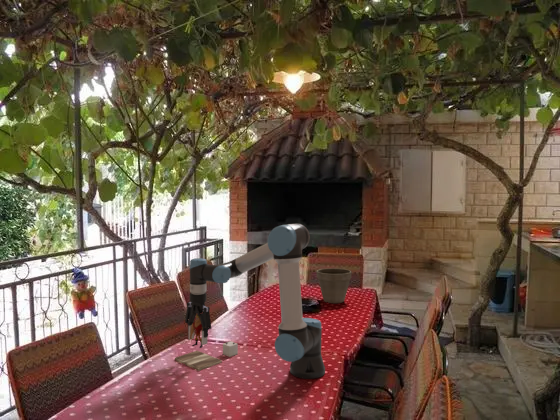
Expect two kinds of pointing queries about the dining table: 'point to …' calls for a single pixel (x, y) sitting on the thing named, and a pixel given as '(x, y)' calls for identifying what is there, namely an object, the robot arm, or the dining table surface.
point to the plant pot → (334, 284)
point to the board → (198, 360)
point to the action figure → (197, 330)
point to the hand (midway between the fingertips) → (197, 341)
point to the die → (230, 349)
